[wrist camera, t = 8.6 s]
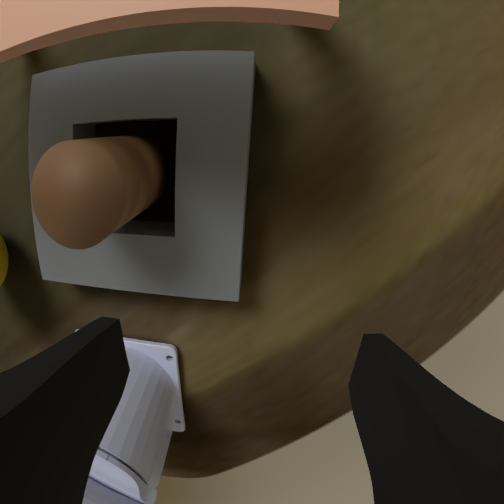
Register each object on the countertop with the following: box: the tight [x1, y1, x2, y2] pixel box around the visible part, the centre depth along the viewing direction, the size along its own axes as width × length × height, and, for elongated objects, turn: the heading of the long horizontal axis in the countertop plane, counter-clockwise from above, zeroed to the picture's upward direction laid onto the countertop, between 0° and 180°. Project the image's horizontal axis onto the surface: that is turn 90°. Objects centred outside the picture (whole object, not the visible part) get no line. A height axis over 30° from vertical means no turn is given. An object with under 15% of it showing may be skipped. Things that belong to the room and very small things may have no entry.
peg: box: [31, 135, 174, 250], centre depth 13 cm, size 4×4×7 cm
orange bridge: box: [0, 0, 339, 63], centre depth 9 cm, size 6×18×10 cm, turn 86°
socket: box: [29, 50, 256, 302], centre depth 15 cm, size 12×12×2 cm
